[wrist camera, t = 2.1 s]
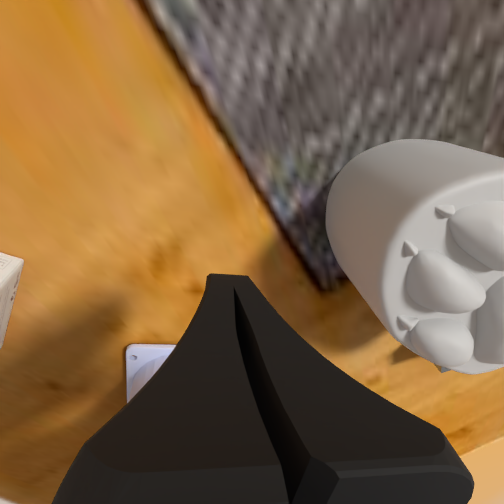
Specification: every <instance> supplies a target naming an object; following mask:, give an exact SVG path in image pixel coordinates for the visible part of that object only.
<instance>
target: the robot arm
mask: <svg viewBox="0 0 504 504" xmlns="http://www.w3.org/2000/svg"><path fill="white" fill-rule="evenodd" d="M132 355H135V356H132ZM126 377H127V404H126V405H125V406H124V407H123V408H122V409H121V410H120V411H119V412H118V413H117V414H116V415H115V416H114V417H113V418H111V419H110V420H109V421H108V422H107V423H106V424H105V425H104V426H103V427H102V428H101V429H99V430H98V431H97V432H96V433H95V434H94V435H93V436H92V437H91V438H90V439H89V440H87V441H86V442H85V443H84V445H83V446H82V448H81V450H80V451H79V453H78V455H77V456H76V458H75V460H74V461H73V463H72V465H71V467H70V468H69V470H68V472H67V474H66V476H65V478H64V479H63V481H62V483H61V485H60V487H59V489H58V491H57V493H56V495H55V497H54V500H53V502H52V504H467V503H468V501H469V500H470V499H471V497H472V493H473V489H474V481H473V478H472V475H471V473H470V472H469V471H468V469H467V468H466V466H465V465H464V463H463V462H462V460H461V459H460V457H459V456H458V454H457V453H456V451H455V450H454V448H453V447H452V445H451V444H450V443H449V441H448V440H447V438H446V437H445V435H444V434H443V433H442V431H441V430H440V429H439V428H437V427H435V426H433V425H432V424H430V423H428V422H426V421H424V420H422V419H420V418H418V417H417V416H415V415H413V414H411V413H409V412H407V411H405V410H404V409H402V408H400V407H398V406H396V405H394V404H393V403H391V402H389V401H388V400H386V399H384V398H383V397H381V396H379V395H378V394H376V393H375V392H373V391H371V390H370V389H368V388H367V387H365V386H364V385H362V384H361V383H359V382H358V381H356V380H355V379H353V378H352V377H350V376H349V375H347V374H346V373H345V372H343V371H342V370H341V369H339V368H338V367H336V366H335V365H334V364H332V363H331V362H330V361H329V360H327V359H326V358H325V357H323V356H322V355H321V354H320V353H319V352H318V351H316V350H315V349H314V348H313V347H312V346H311V345H309V344H308V343H307V342H306V341H305V340H304V339H303V338H302V337H301V336H299V335H298V334H297V333H296V332H295V331H294V330H293V329H292V328H291V327H290V326H289V325H288V324H287V322H286V321H285V320H284V319H283V318H282V317H281V316H280V315H279V314H278V313H277V311H276V310H275V309H274V308H273V307H272V306H271V304H270V303H269V302H268V301H267V300H266V298H265V297H264V296H263V295H262V293H261V292H260V291H259V289H258V288H257V287H256V286H255V284H254V283H253V282H252V280H251V279H250V278H249V277H248V276H242V275H227V274H209V275H208V276H207V280H206V288H205V292H204V295H203V297H202V300H201V302H200V304H199V307H198V309H197V311H196V313H195V315H194V317H193V319H192V320H191V322H190V324H189V326H188V328H187V329H186V331H185V333H184V334H183V336H182V338H181V339H180V341H179V342H178V344H177V345H162V344H131V345H129V346H128V347H127V350H126Z"/></svg>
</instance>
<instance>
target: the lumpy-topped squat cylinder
mask: <svg viewBox="0 0 504 504" xmlns="http://www.w3.org/2000/svg"><path fill="white" fill-rule="evenodd" d="M326 231H327V235H328V239H329V242H330V245H331V248H332V250H333V253H334V255H335V258H336V260H337V262H338V264H339V266H340V267H341V268H342V270H343V271H344V272H345V274H346V275H347V276H348V278H349V279H350V281H351V282H352V283H353V285H354V286H355V287H356V289H357V290H358V291H359V293H360V294H361V296H362V297H363V298H364V300H365V301H366V302H367V304H368V305H369V306H370V308H371V309H372V311H373V312H374V313H375V315H376V316H377V317H378V319H379V320H380V321H381V323H382V324H383V325H384V327H385V328H386V329H387V331H388V332H389V333H390V334H391V335H392V336H393V337H394V338H395V339H396V340H397V341H399V342H400V343H401V344H403V345H404V346H405V347H407V348H408V349H409V350H411V351H412V352H414V353H416V354H417V355H419V356H421V357H423V358H425V359H427V360H429V361H430V362H432V363H434V364H436V365H439V366H442V367H446V368H448V369H451V370H454V371H456V372H461V373H465V374H480V373H485V372H490V371H493V370H496V369H499V368H501V367H504V158H501V157H497V156H494V155H490V154H487V153H483V152H479V151H476V150H472V149H468V148H465V147H461V146H457V145H454V144H450V143H446V142H442V141H435V140H423V139H403V140H396V141H391V142H388V143H384V144H381V145H378V146H376V147H373V148H371V149H368V150H366V151H364V152H362V153H361V154H359V155H357V156H356V157H354V158H353V159H352V160H350V161H349V162H348V163H347V164H346V165H345V166H344V167H343V168H342V170H341V171H340V172H339V174H338V175H337V177H336V178H335V180H334V182H333V184H332V186H331V189H330V192H329V195H328V200H327V206H326Z"/></svg>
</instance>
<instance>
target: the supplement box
mask: <svg viewBox="0 0 504 504" xmlns="http://www.w3.org/2000/svg"><path fill="white" fill-rule="evenodd" d="M23 264H24V260H23V259H21V258H17V257H14V256H10V255H7V254H4V253H0V349H1V347H2V346H3V342H4V337H5V333H6V330H7V326H8V322H9V318H10V314H11V310H12V307H13V303H14V299H15V295H16V291H17V287H18V284H19V280H20V275H21V272H22V268H23Z"/></svg>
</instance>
